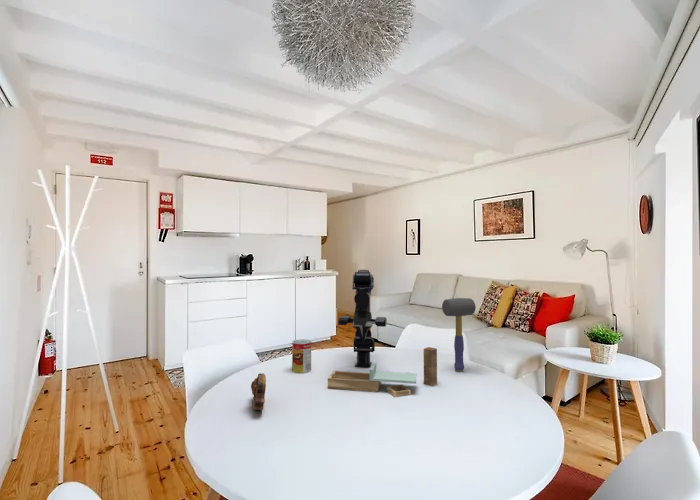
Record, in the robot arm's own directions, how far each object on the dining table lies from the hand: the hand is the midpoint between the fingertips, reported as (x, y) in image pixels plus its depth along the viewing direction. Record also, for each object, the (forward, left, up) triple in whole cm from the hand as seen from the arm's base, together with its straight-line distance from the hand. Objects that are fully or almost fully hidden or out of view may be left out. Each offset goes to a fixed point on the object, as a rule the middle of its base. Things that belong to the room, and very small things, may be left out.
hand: (362, 342), depth 141 cm
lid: (+11, +13, -9) cm, 20 cm away
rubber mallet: (-14, +38, -13) cm, 43 cm away
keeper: (+15, +15, -13) cm, 25 cm away
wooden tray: (+11, -1, -13) cm, 17 cm away
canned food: (-2, -26, -13) cm, 29 cm away
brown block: (+4, +26, -13) cm, 29 cm away
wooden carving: (+36, -27, -13) cm, 47 cm away
